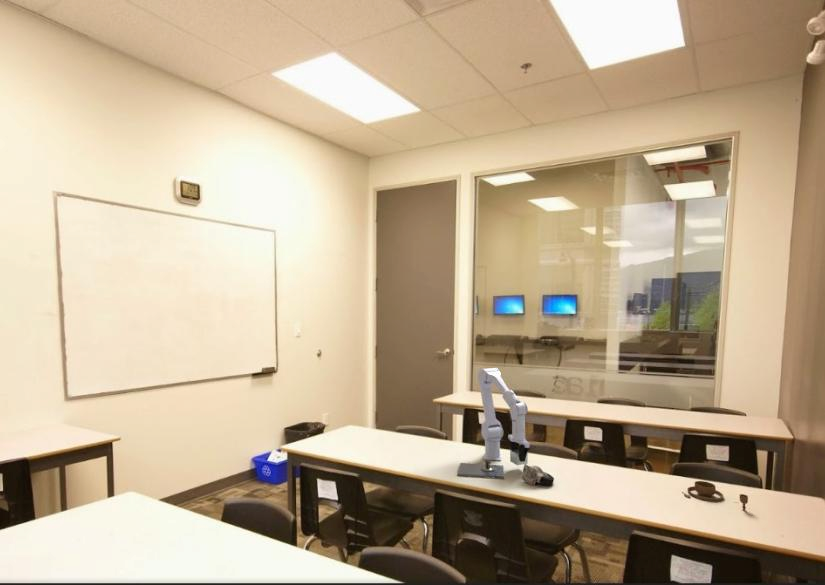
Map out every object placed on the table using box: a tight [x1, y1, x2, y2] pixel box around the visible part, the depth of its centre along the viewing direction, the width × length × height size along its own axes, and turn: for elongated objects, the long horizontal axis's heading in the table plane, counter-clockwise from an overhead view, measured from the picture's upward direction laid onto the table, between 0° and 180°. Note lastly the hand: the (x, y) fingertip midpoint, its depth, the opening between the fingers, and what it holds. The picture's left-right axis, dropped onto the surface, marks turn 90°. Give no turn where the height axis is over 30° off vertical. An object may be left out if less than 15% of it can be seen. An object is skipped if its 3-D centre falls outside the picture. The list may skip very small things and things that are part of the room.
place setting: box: [681, 480, 749, 512], centre depth 172 cm, size 18×20×6 cm
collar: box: [509, 449, 529, 466], centre depth 203 cm, size 6×6×5 cm
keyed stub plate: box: [457, 460, 505, 479], centre depth 201 cm, size 14×20×4 cm
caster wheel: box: [520, 464, 555, 487], centre depth 189 cm, size 7×11×10 cm
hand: (518, 459), depth 203 cm, fingers closed on collar, 6 cm apart
